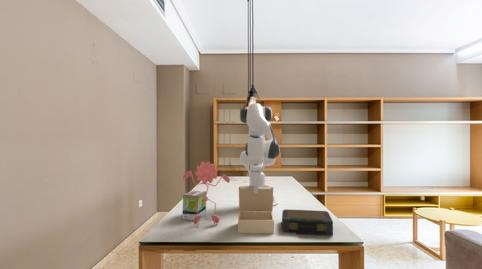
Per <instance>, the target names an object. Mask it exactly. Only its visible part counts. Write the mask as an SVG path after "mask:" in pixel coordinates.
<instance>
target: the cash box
mask: <svg viewBox="0 0 482 269" xmlns="http://www.w3.org/2000/svg"><path fill="white" fill-rule="evenodd" d="M281 215H282V216H281V232H282V233H289V234H296V235H304V236H305V235H307V236H308V235H309V236H322V235H332V236H333V235H334V221H333V219H332V217H331V215H330V213H329V211H326V210H308V209H287V208H286V209H285V208H284V209H283V210H282V214H281Z"/></svg>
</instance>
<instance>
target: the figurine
mask: <svg viewBox="0 0 482 269" xmlns="http://www.w3.org/2000/svg"><path fill="white" fill-rule="evenodd" d="M215 167H216V164H215V163H211V162H210V161H206V162H204V161H201V162H200V164H199V165H197V166H196V171H194V175H195V176H196V178H197V181H201V182H200V183H196V182H195V180H194V176H193V174H192V170H187V172H185V173H184V174H183V176H182V178H183V181H185V180H186V179H189V178H190V177H191V179H192V182H193V184H194V186H195V185H206V187H207V188H206V196H205V197H204V198H203V200H204V201H206V202H207V201H210V202H211V203H213V204H214V211H216V208H217V204H216V202H214V201H213V200H211V199H209V197H208V196H207V194H208V191H209V186H212V187H217V185H218V184H219V182H220V181H221V180H222V179H223V180H224V181H225V182H227V183H228V184H229V183H230V181H231V179H230V178H229V176H228V175H226V174H225V173H223V174H222V175H221V177H220V178H219V180H218V181H217V182H216V184H211V183H213V180H214V179H215V180H216V179H217V178H218V175H217V173H218V169H217V168H215ZM203 200H201V201H203ZM201 201H200V202H201ZM200 202H199V203H200ZM197 204H198V203H197ZM197 204H196V211H197ZM201 221H202V219H201V218H200V216H198V213H197V216H196V217H195V218H194V220H192V221H191V222H189V223H190V224H191V223H193V224H194V225H196V228H199V222H201ZM211 221H213V228H216V224H217V225H218V224H219V222H220V218H219V216H217V215H216V213H214V214H213V215H212V216H211Z"/></svg>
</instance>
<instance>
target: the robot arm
mask: <svg viewBox="0 0 482 269" xmlns="http://www.w3.org/2000/svg"><path fill="white" fill-rule="evenodd" d="M238 117H239V121H240V122H241V123H243V124H246V126H247V127H248V140H247V143H245V146H244V147H245V150H244V151H241V153H240V155H239V161H240V163H241V164H242V166H244V167H245V169H247V170H246V171H247V172H248V176H249V185H248V186H253V187H254V193H258V187H259V186H265V187H271V186H270V185H266V174H265V173H264V172H263V171H264V170H265V167H269V166H273V165H274V164H275V163H276V158H277V157H279V155H280V151H281V150H280V145H279V143H278V141H277V138H276V135H275V133H274V128H273V127H272V124H271V122H270V121H271V120H272V118H273V110H272V108H271V107H270V106H267V105H265V106H263V105H261V104H260V103H257V102H254V103H251V104H250V105H249V106H247V107H246V106H245V107H242V108H240V110H239V113H238ZM265 136H266V138H267V140H266V138H265ZM275 200H276V199H275V196H274V195H273V207H274V206H277V205H279V202H277V201H275Z"/></svg>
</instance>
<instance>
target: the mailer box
mask: <svg viewBox="0 0 482 269" xmlns="http://www.w3.org/2000/svg"><path fill="white" fill-rule="evenodd" d="M238 214H239V215H238V218H237V233H238V234H275V218H274V215H273V211H272V212H246V211H239V213H238Z"/></svg>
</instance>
